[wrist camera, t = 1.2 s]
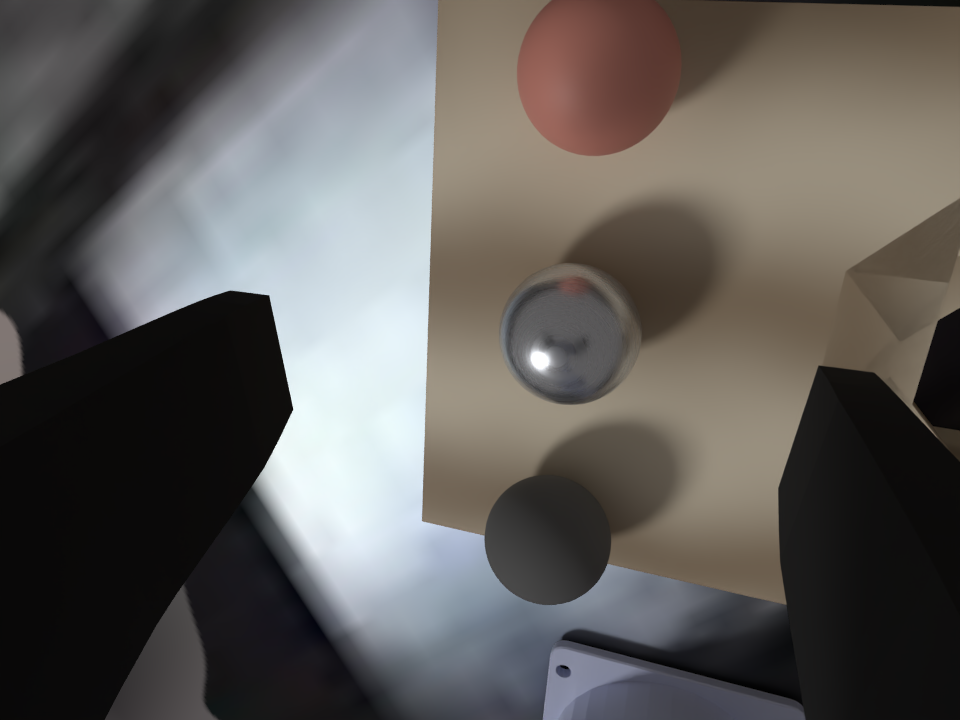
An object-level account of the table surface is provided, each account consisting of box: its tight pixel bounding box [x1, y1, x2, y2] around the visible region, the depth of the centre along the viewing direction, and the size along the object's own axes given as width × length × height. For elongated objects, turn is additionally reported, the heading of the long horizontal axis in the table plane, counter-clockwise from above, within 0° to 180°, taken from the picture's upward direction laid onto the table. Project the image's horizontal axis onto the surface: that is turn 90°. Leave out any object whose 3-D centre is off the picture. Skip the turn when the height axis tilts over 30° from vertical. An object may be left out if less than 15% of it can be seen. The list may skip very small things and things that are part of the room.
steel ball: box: [499, 263, 642, 405], centre depth 16 cm, size 3×3×3 cm
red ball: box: [517, 0, 682, 156], centre depth 14 cm, size 3×3×3 cm
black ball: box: [485, 475, 611, 605], centre depth 18 cm, size 3×3×3 cm
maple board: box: [422, 0, 960, 605], centre depth 17 cm, size 14×20×2 cm
